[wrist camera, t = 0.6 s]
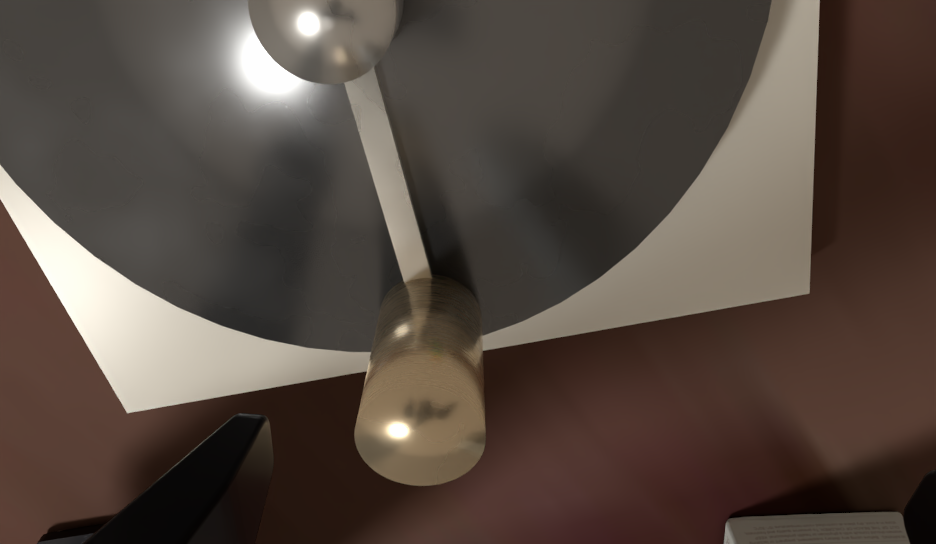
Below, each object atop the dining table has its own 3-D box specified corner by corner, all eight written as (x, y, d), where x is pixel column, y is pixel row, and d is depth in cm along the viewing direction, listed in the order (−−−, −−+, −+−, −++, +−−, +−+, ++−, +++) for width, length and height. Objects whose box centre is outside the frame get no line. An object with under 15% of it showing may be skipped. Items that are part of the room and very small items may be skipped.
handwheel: (-313, -443, 13) (-878, -687, 8) (761, -806, 11) (1050, -1495, 5) (151, 389, 23) (52, 544, 17) (764, 279, 21) (869, 416, 15)
